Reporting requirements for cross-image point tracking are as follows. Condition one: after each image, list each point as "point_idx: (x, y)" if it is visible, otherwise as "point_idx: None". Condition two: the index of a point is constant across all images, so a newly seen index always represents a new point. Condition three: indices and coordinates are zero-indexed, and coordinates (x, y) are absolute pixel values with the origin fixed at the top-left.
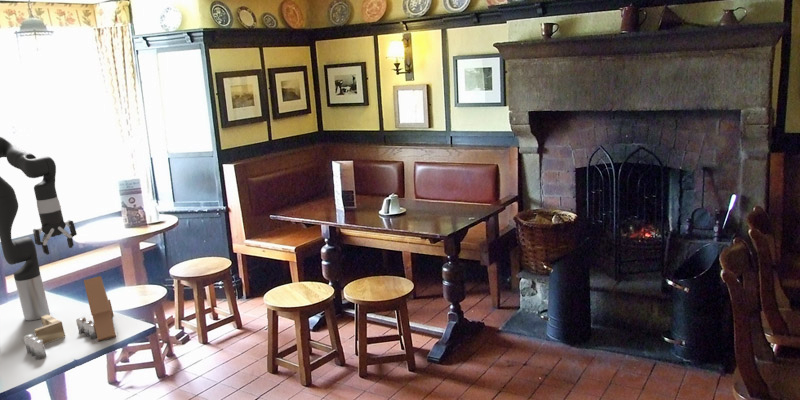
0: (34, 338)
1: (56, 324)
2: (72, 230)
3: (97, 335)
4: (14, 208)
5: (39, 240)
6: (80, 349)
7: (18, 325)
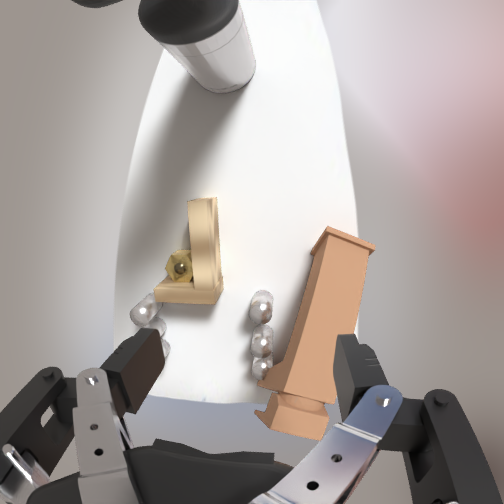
0: None
1: (202, 302)
2: (411, 485)
3: (258, 385)
4: None
5: (64, 439)
6: (223, 378)
7: (172, 92)
